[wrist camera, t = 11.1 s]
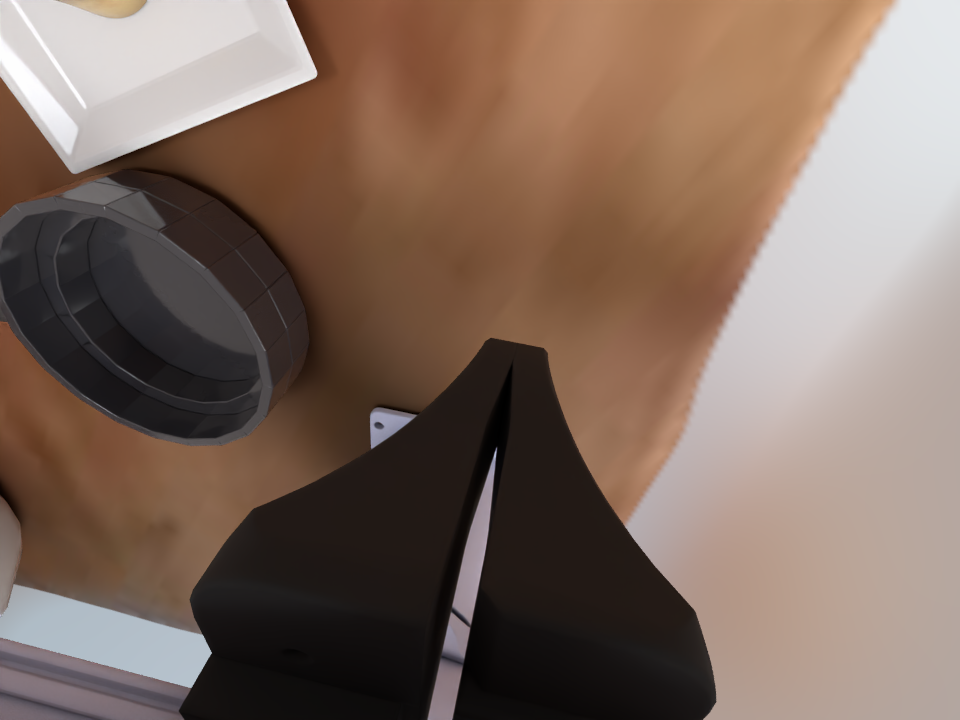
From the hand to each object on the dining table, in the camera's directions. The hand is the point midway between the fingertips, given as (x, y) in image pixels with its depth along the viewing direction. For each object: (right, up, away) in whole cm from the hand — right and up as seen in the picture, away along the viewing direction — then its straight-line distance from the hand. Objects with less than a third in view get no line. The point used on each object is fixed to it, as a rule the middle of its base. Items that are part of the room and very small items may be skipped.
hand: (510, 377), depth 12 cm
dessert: (-13, +14, +5) cm, 20 cm away
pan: (-15, +3, +13) cm, 20 cm away
